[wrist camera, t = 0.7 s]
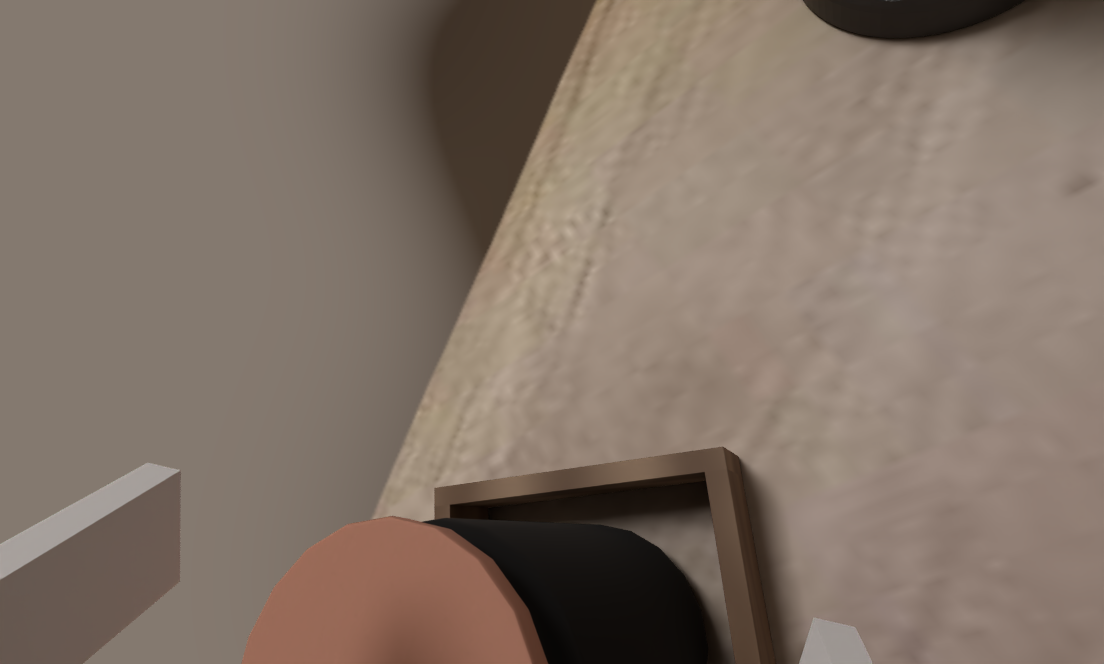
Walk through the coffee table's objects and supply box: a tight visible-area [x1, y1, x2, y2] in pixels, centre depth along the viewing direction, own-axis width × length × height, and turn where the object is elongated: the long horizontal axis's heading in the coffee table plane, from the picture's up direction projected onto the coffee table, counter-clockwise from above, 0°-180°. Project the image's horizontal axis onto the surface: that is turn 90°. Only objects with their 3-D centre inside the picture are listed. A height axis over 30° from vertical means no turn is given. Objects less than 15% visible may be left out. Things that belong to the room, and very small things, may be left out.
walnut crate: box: [435, 447, 776, 664], centre depth 30 cm, size 16×16×4 cm
